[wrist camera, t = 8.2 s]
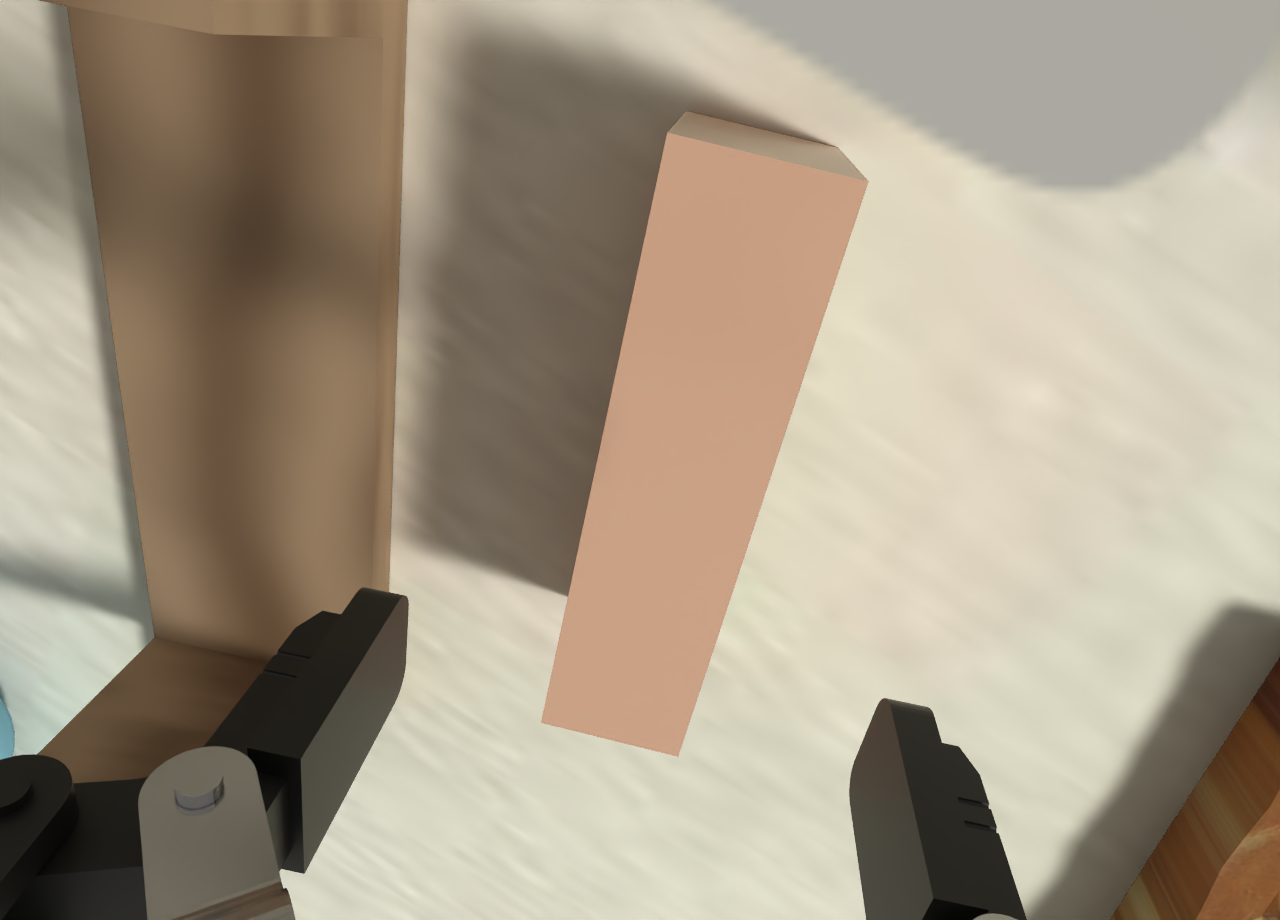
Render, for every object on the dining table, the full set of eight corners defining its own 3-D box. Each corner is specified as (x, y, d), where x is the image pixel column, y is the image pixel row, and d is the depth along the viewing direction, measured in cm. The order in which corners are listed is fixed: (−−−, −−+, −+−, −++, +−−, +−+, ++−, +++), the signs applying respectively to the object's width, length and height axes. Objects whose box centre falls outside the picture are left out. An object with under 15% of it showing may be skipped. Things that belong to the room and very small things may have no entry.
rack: (409, -81, 20) (200, -159, 12) (385, 707, 32) (272, 913, 24) (91, -142, 20) (-306, -255, 12) (186, 664, 32) (13, 854, 24)
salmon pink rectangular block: (837, 147, 21) (868, 181, 16) (690, 623, 29) (678, 756, 23) (686, 110, 21) (667, 132, 16) (579, 596, 29) (540, 722, 23)
